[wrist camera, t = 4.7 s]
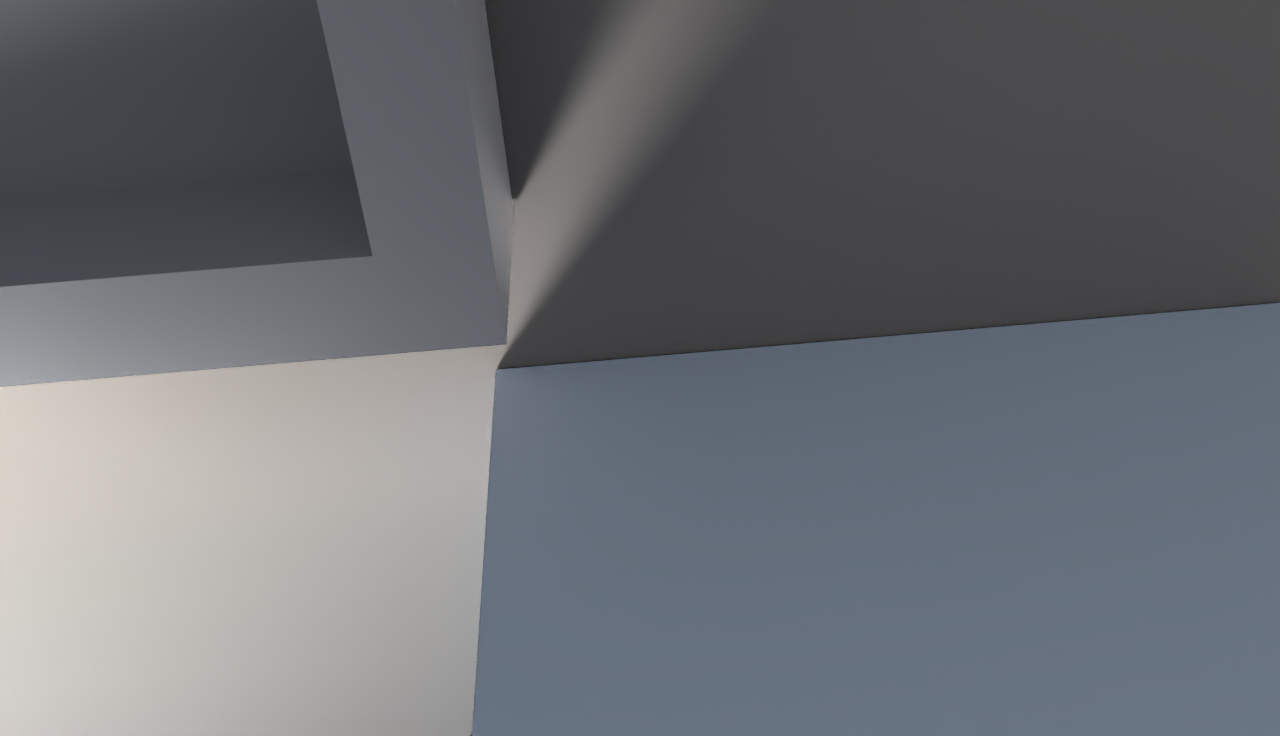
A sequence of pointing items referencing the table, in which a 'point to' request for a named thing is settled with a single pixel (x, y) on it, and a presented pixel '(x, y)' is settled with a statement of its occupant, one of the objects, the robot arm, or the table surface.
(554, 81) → the table surface
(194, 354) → the tray
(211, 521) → the table surface
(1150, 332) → the blue-gray cube
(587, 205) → the table surface
